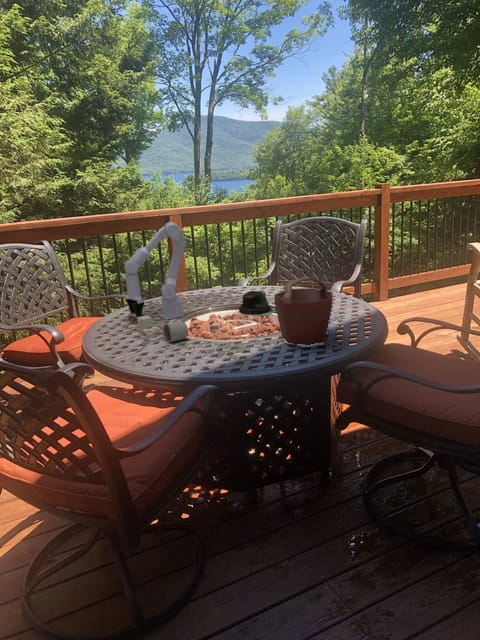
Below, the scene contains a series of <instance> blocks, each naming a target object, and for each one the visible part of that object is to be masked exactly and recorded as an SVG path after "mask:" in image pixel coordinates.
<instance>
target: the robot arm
mask: <svg viewBox="0 0 480 640" xmlns="http://www.w3.org/2000/svg"><path fill="white" fill-rule="evenodd" d="M169 238H170V239H171V240H172V242H173V243H174V247H173V251H172V255H171V258H170V262H169V267H168V270H167V273H166V274H167V275H166V277H165V280H164V282H163V283H162V284H161V287H160V292H161V293H162V294H161V295H162V296H161V297H160V298H161V312H162V314H160V315H159V316H160V318H162V319H164V320H171V319H172V320H173V319H176V318H181V317H185V315H184V304H183V299H182V297H180V296H177V290H176V288H177V280H178V275H179V272H180V269H181V264H182V261H183V257H184V253H185V249H186V247H187V246H186V244H187V242H186V239H185V236H184V233H183V230H182V228H181V227H180V226H179V225H178V224H177V223H176V222H174V221H168V222H166V223H165V224H164V226H162V227H161V228H160V229H159V230H158V231H157V232H156V233H155V235H153V236H152V238H151V239H150V240H149V241H148V242H147V244H146V245H145V246H144V247H143V246H142V247H139V248H137V249H136V250H135V252H134V254H133V255H131V256H129V258H128V260H127V261H126V262H125V264H124V271H125V283H126V284H125V285H126V290H127V291H126V292H127V293H126V296H125V299H124V300H125V302H126V304H127V305H128V309H129V311H130V315H131V314H135V317H136V318H137V317H141V316H143V314H142V313H143V308H144V306H145V304H146V302H145V301H143V298H142V296H141V289H140V287H141V286H140V279H139V278H140V277H139V275H138V273H139V272H138V271H139V268H140V267H142V265H143V264H144V263H145V262H146V261H147V260H148V259H149V258H150V255H151V254H150V253H151V252H152V250H153V249H154V248H155V247H156V246H157V245H158V244H159V243H160V242H161V241H162V240H166V239H169Z"/></svg>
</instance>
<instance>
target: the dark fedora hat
mask: <svg viewBox="0 0 480 640" xmlns="http://www.w3.org/2000/svg"><path fill="white" fill-rule="evenodd" d="M266 297H267V294H266V291H261V290H260V291H256V290H251V291H247V292H245V293H244V294H243V295H242V304H241V305H240V306H239V308H238V313H240V314H241V315H242V316H246V317H261V316H262V317H263V316H267V315H268V316H269V315H271V314H274V313H275V312H276V309H274V310H272V307H271V306H270V304H269V302H268V300H267V298H266Z"/></svg>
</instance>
